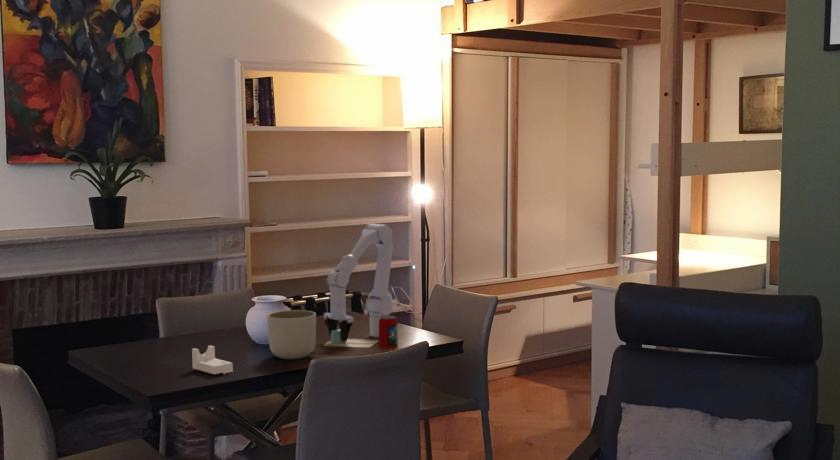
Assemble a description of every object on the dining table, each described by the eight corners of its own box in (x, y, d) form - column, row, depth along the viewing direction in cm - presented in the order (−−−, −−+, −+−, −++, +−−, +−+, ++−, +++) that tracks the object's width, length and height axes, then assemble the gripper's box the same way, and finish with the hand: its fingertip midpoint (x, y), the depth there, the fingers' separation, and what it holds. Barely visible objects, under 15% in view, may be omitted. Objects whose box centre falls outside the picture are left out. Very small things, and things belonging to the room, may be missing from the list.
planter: (280, 364, 325) (279, 320, 324) (260, 355, 339) (259, 313, 338) (325, 357, 334) (324, 315, 333) (304, 349, 348) (303, 308, 347)
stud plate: (334, 341, 362) (334, 330, 362) (380, 343, 358) (380, 332, 358) (322, 348, 349) (322, 337, 348) (369, 350, 344) (369, 339, 344)
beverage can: (395, 351, 343) (394, 318, 342) (377, 350, 344) (376, 318, 343) (399, 347, 349) (399, 315, 348) (381, 347, 351) (381, 314, 350)
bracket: (192, 370, 318) (192, 348, 317) (211, 367, 323) (210, 345, 322) (214, 377, 309) (213, 354, 308) (232, 373, 314) (232, 350, 313)
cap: (333, 340, 358) (333, 328, 357) (347, 340, 357) (347, 329, 356) (329, 343, 352) (329, 331, 352) (344, 343, 351) (344, 331, 351)
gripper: (317, 302, 355) (318, 338, 357) (342, 306, 345) (343, 343, 346) (331, 300, 360) (332, 335, 362) (357, 304, 350) (358, 340, 352)
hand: (338, 339), depth 354 cm, fingers closed on cap, 6 cm apart
